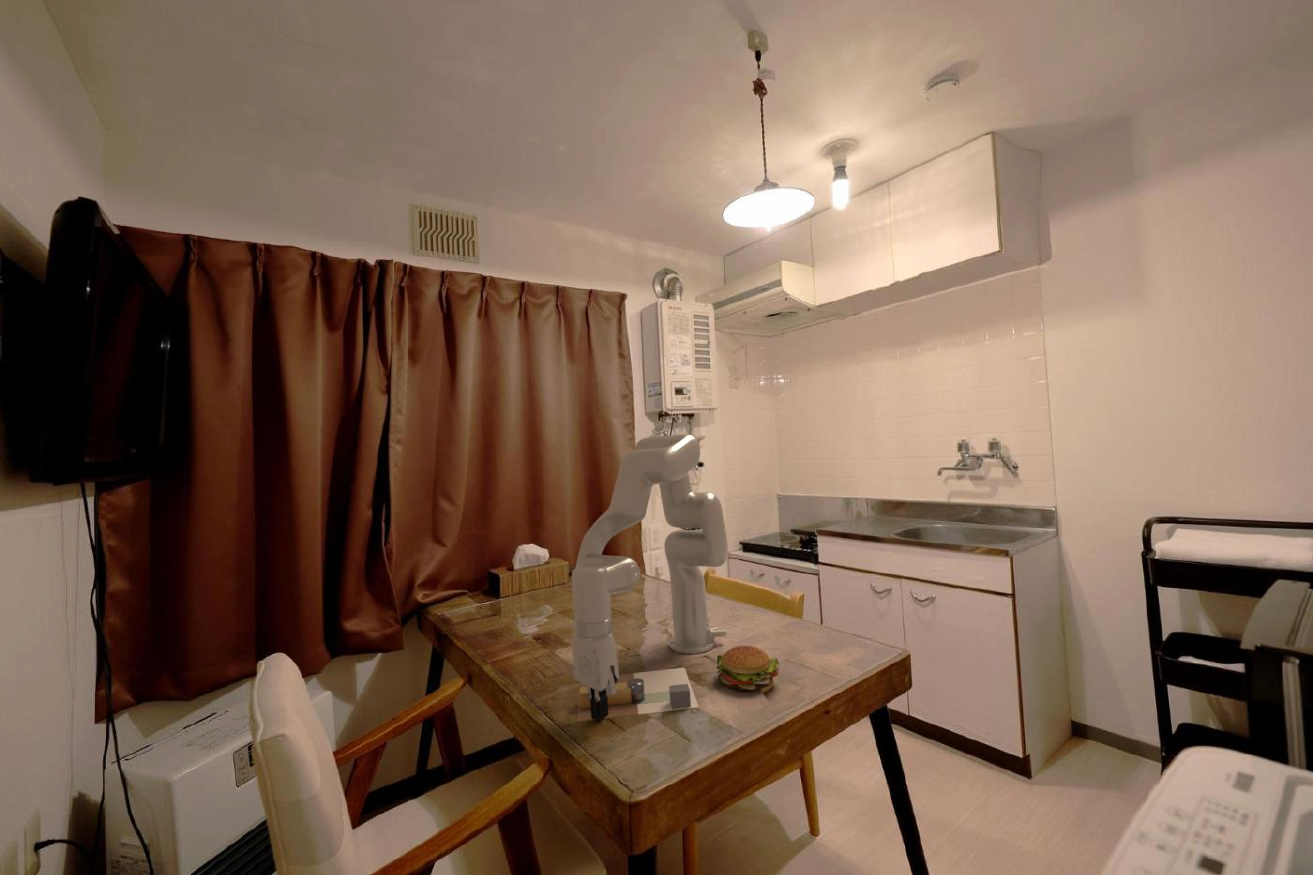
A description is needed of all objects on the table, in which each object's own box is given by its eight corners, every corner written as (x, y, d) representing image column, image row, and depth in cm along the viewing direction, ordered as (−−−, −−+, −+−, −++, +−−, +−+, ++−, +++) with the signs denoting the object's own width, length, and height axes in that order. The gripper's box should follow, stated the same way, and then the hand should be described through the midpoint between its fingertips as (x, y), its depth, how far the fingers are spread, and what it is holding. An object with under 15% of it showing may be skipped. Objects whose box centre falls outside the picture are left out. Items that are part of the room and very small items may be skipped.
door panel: (684, 672, 125) (683, 653, 125) (698, 712, 106) (697, 690, 106) (581, 684, 122) (580, 664, 122) (577, 727, 103) (575, 704, 103)
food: (793, 686, 114) (790, 650, 114) (742, 705, 108) (740, 667, 108) (754, 664, 126) (751, 632, 126) (706, 680, 120) (704, 646, 120)
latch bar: (644, 693, 112) (643, 677, 112) (645, 702, 109) (644, 685, 109) (581, 701, 111) (580, 684, 111) (580, 709, 107) (579, 692, 108)
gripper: (558, 624, 107) (563, 712, 106) (601, 640, 96) (607, 739, 96) (587, 614, 112) (593, 698, 112) (631, 629, 101) (637, 722, 101)
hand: (599, 716), depth 104 cm, fingers closed
